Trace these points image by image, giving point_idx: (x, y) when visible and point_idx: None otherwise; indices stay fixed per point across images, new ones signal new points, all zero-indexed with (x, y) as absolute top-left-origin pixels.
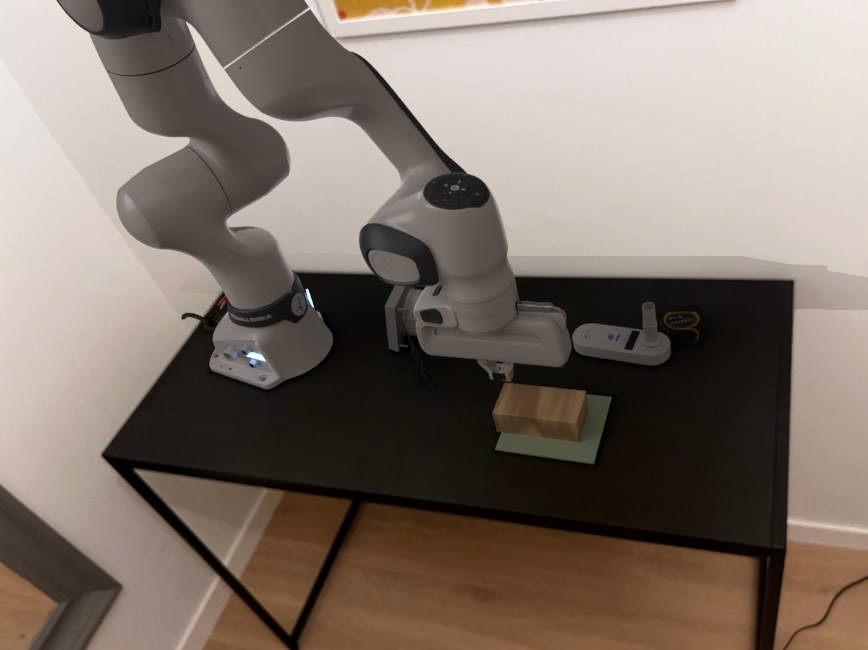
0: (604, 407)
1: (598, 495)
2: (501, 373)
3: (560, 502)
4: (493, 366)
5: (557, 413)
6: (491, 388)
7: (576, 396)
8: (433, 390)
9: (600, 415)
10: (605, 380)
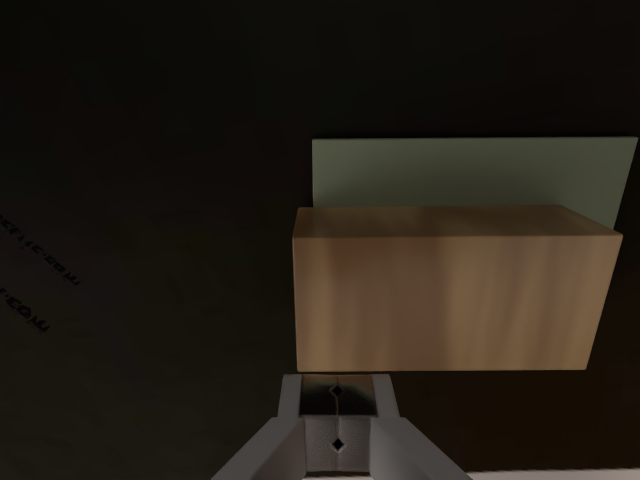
0: (612, 186)
1: (580, 426)
2: (355, 469)
3: (498, 451)
4: (299, 451)
5: (521, 345)
6: (215, 152)
7: (586, 266)
8: (39, 331)
9: (597, 219)
10: (614, 48)
